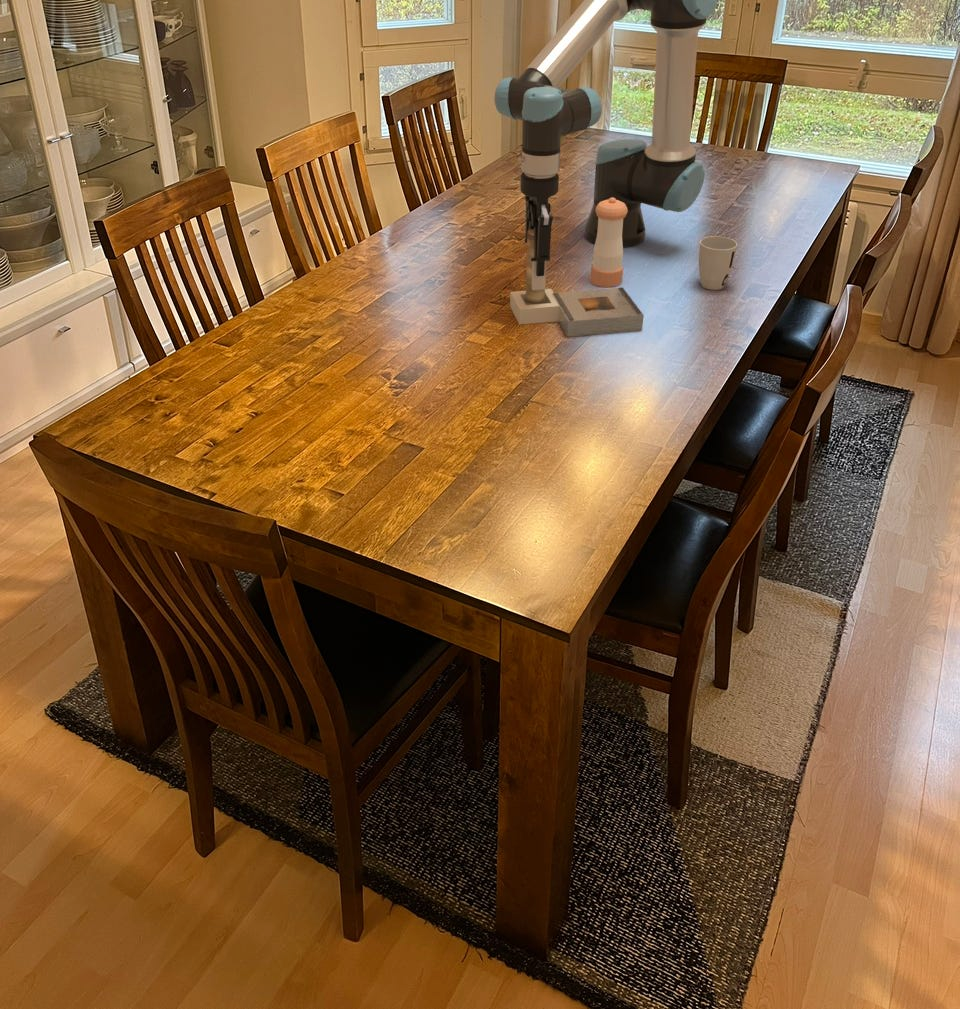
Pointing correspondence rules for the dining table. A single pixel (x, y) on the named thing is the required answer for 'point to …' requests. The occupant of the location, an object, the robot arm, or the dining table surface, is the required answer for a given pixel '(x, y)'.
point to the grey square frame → (598, 312)
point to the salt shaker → (608, 244)
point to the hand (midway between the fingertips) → (535, 284)
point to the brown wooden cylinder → (531, 295)
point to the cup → (716, 261)
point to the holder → (534, 308)
